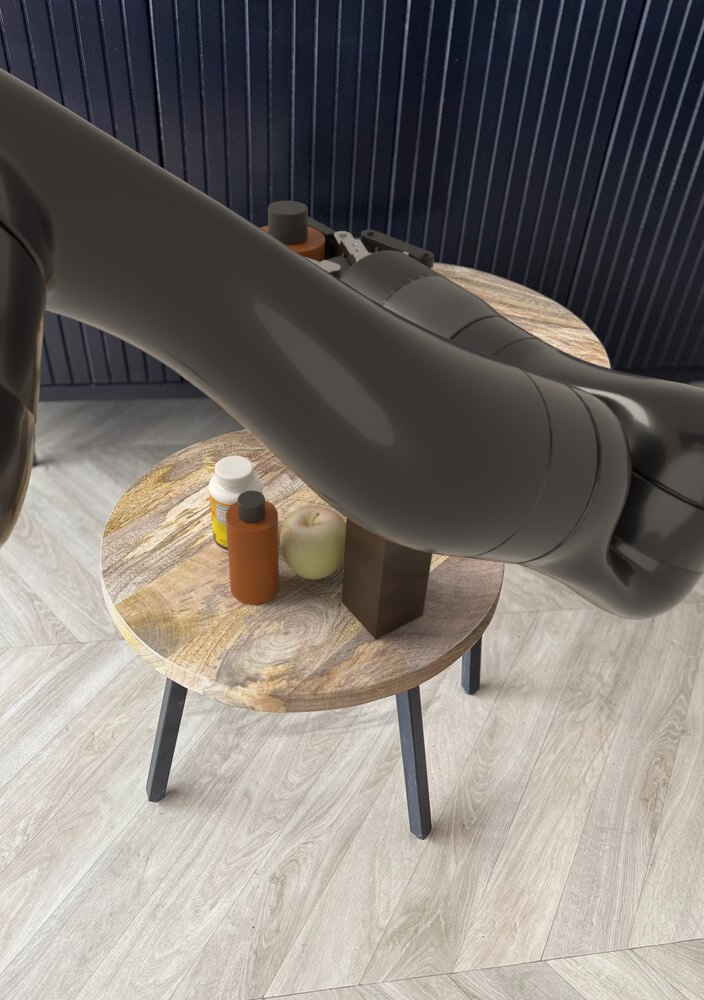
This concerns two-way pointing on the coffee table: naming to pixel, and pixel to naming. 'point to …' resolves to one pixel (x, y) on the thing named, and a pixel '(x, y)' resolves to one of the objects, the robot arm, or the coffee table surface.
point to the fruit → (313, 541)
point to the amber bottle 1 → (253, 548)
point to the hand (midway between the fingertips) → (267, 238)
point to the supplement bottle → (229, 492)
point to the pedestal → (383, 581)
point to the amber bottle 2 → (295, 229)
